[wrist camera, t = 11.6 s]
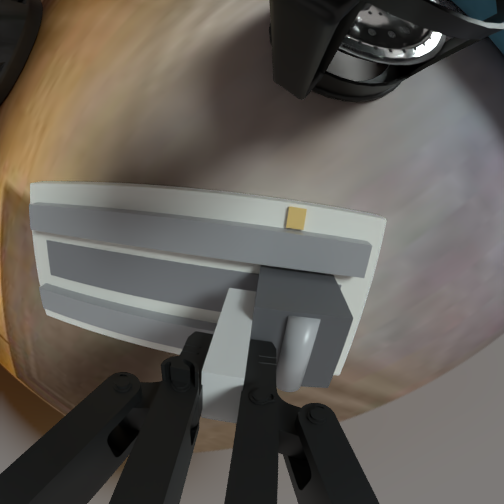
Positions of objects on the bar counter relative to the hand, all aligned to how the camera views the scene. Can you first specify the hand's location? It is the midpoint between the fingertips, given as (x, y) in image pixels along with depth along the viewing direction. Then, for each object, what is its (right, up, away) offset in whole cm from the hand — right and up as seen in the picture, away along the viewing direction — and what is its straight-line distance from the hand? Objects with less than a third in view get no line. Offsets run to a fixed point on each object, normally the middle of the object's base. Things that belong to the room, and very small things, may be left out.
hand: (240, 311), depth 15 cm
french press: (+6, +17, -2) cm, 18 cm away
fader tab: (+3, 0, +2) cm, 4 cm away
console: (-5, +2, +4) cm, 6 cm away
